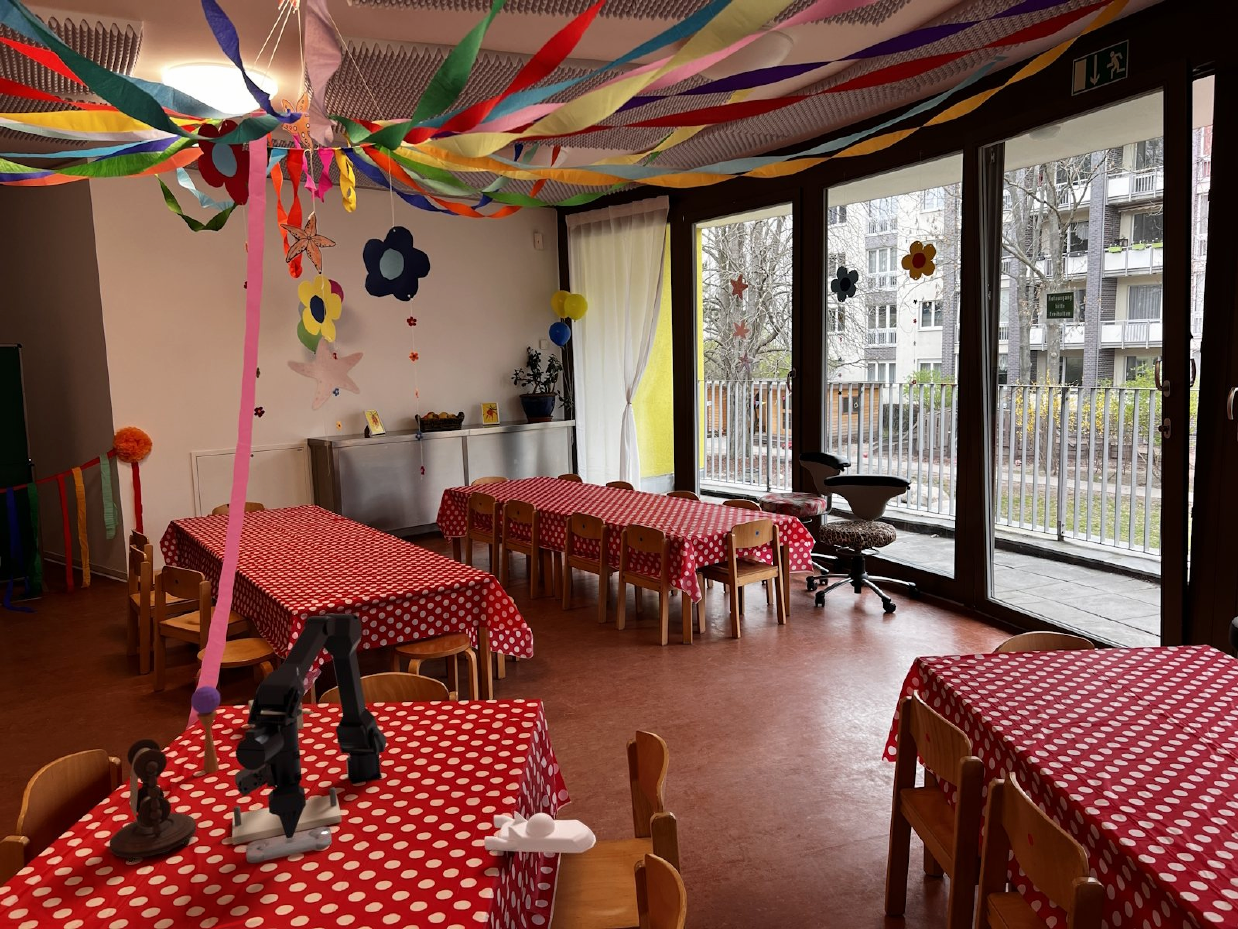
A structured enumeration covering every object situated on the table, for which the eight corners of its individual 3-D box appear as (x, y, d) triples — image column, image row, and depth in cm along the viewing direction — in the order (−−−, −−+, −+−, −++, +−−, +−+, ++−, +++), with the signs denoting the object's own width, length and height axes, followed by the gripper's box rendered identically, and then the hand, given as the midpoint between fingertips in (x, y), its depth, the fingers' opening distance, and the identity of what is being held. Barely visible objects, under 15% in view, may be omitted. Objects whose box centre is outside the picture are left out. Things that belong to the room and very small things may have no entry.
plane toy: (593, 860, 162) (592, 829, 162) (484, 859, 164) (483, 828, 163) (598, 831, 172) (597, 802, 172) (496, 830, 174) (495, 801, 173)
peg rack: (336, 801, 188) (335, 778, 187) (341, 822, 179) (339, 798, 178) (233, 821, 180) (231, 798, 180) (232, 845, 171) (230, 820, 171)
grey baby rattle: (330, 837, 173) (329, 825, 173) (332, 846, 170) (331, 834, 169) (247, 855, 168) (246, 842, 167) (247, 865, 164) (246, 853, 164)
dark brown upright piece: (105, 842, 174) (95, 743, 172) (187, 818, 183) (179, 723, 181) (117, 874, 162) (107, 768, 160) (204, 846, 171) (196, 746, 169)
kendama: (201, 780, 200) (194, 693, 198) (194, 771, 205) (187, 687, 203) (229, 772, 204) (222, 687, 202) (221, 764, 208) (214, 680, 207)
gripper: (236, 736, 172) (242, 814, 174) (235, 775, 155) (241, 860, 157) (297, 726, 176) (302, 801, 178) (303, 762, 159) (308, 846, 161)
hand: (288, 826), depth 168 cm, fingers open, 9 cm apart
